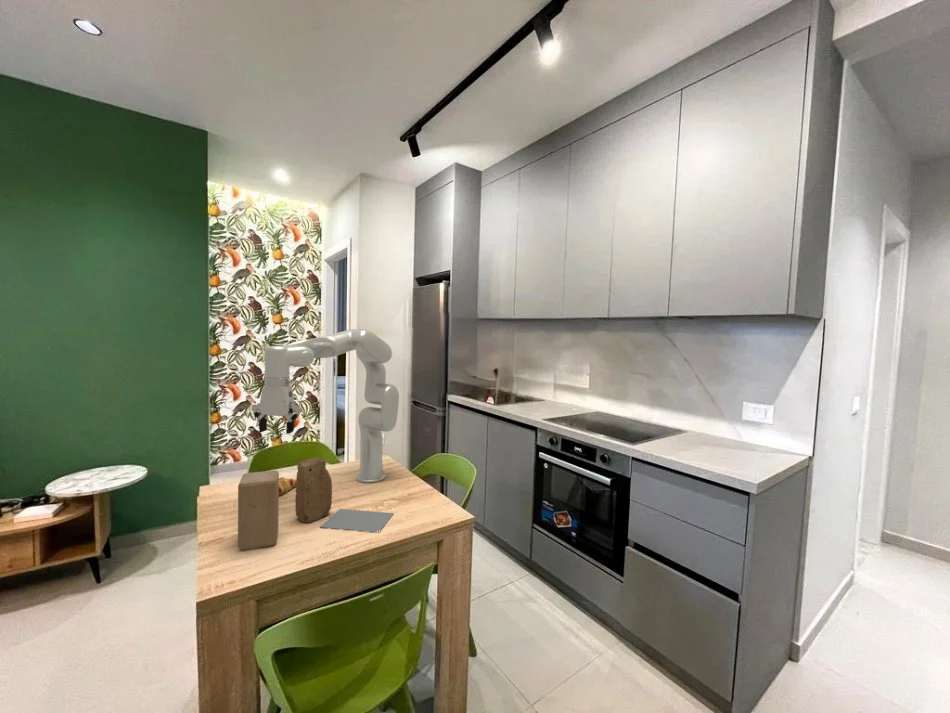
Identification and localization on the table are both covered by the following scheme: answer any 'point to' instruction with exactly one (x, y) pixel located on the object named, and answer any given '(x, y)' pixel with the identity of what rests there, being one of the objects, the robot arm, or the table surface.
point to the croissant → (286, 485)
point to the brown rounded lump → (313, 490)
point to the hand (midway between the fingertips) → (276, 432)
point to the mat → (357, 520)
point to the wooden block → (258, 509)
